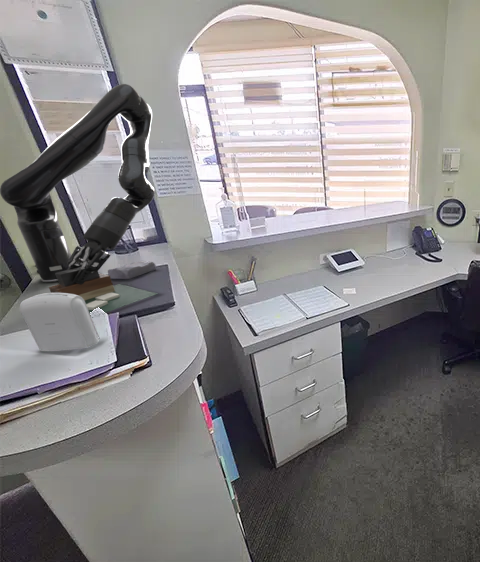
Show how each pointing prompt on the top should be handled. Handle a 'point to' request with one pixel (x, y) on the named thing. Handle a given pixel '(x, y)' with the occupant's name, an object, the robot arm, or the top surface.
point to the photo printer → (59, 321)
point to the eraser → (89, 289)
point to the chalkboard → (123, 297)
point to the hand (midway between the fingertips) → (71, 281)
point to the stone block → (131, 270)
